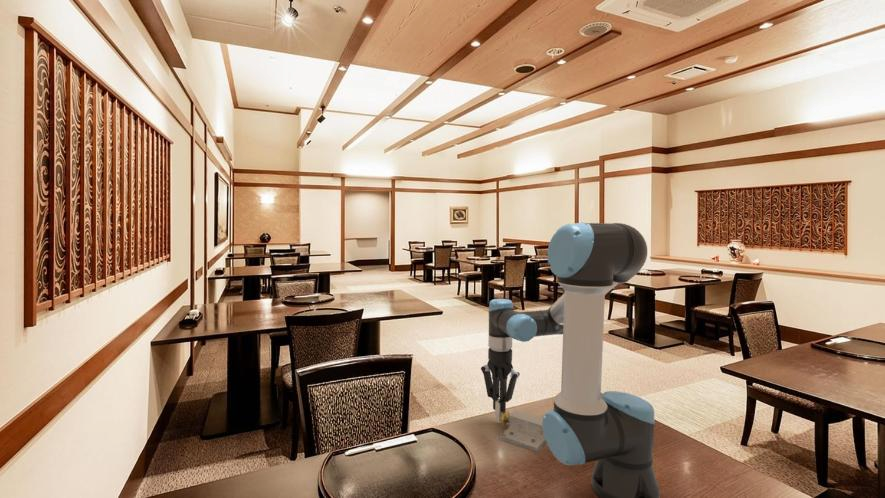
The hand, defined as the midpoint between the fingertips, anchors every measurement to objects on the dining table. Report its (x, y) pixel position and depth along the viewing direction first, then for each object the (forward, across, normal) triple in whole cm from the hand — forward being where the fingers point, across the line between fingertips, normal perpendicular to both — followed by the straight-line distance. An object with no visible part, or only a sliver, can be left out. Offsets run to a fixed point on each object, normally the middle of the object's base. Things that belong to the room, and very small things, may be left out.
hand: (499, 420), depth 136 cm
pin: (+1, -9, 0) cm, 9 cm away
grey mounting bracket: (+1, -10, 0) cm, 11 cm away
